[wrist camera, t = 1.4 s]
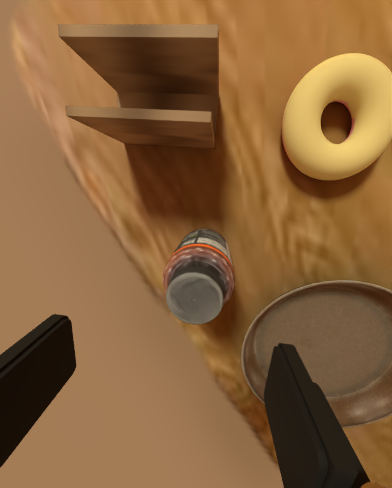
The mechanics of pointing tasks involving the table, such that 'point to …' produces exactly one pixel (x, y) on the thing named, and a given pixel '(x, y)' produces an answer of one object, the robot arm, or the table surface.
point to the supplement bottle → (199, 277)
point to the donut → (359, 105)
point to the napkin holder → (152, 81)
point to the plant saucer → (330, 345)
